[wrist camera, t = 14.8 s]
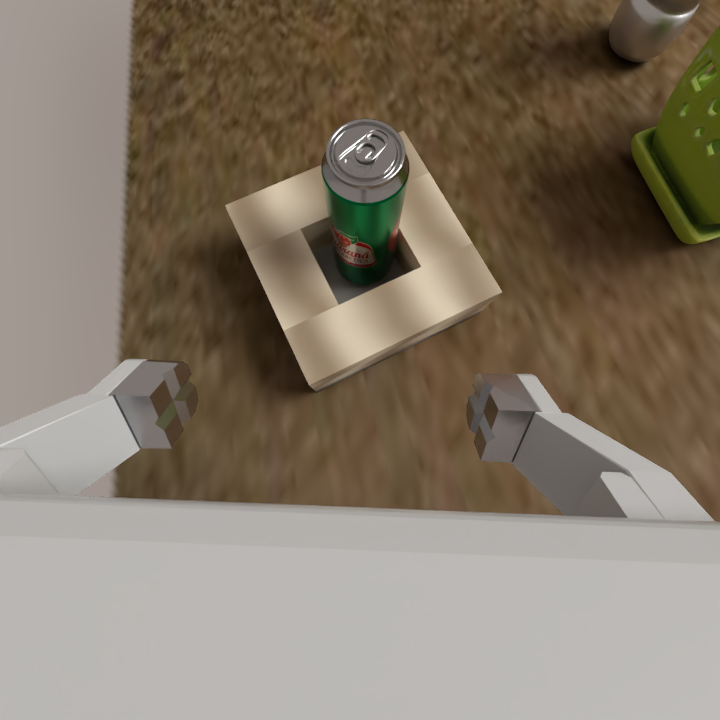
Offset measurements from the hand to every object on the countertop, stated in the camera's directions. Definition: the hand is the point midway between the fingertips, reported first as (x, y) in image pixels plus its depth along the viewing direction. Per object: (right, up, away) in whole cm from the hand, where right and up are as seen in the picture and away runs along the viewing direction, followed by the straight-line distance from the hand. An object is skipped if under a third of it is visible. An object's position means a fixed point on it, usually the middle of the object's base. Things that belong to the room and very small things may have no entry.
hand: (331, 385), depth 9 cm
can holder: (+1, +8, +21) cm, 22 cm away
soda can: (+1, +9, +20) cm, 22 cm away
